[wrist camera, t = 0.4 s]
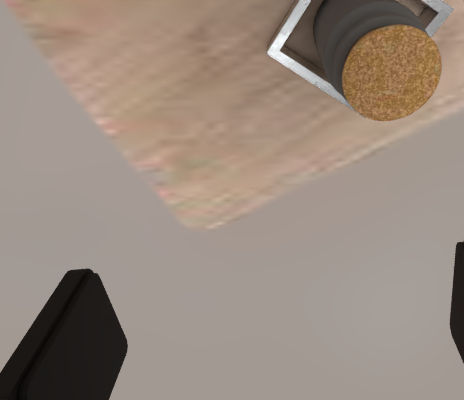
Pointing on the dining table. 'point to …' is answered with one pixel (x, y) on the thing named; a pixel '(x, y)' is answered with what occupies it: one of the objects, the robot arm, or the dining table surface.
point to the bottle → (377, 56)
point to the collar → (276, 49)
